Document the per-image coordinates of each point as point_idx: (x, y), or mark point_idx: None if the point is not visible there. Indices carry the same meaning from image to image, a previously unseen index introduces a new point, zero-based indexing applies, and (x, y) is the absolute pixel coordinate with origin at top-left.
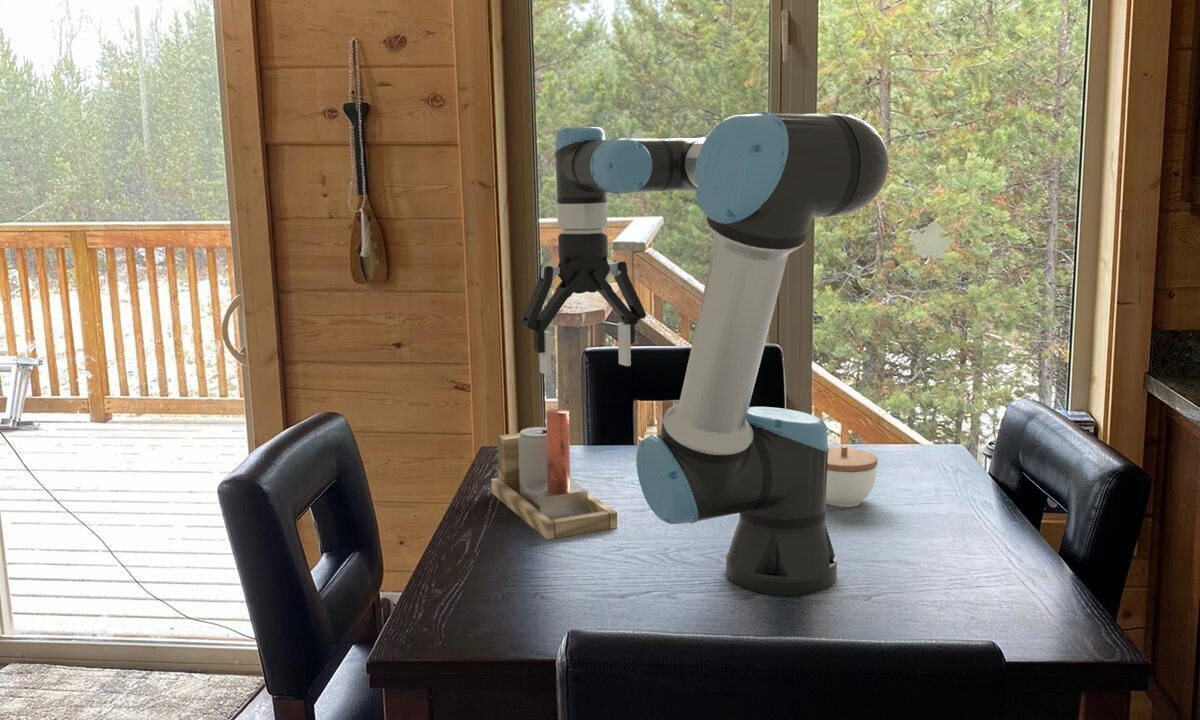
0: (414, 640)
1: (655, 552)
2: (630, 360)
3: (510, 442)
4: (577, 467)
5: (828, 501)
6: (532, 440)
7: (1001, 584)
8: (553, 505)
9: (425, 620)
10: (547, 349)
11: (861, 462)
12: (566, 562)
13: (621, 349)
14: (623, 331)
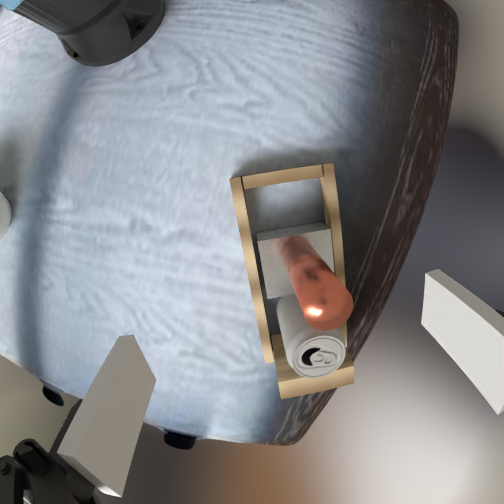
0: (443, 17)
1: (209, 86)
2: (113, 346)
3: (343, 364)
4: (226, 392)
5: (8, 204)
6: (333, 333)
7: (6, 26)
8: (307, 229)
9: (441, 38)
10: (490, 311)
11: None
12: (320, 88)
13: (133, 400)
14: (100, 446)
